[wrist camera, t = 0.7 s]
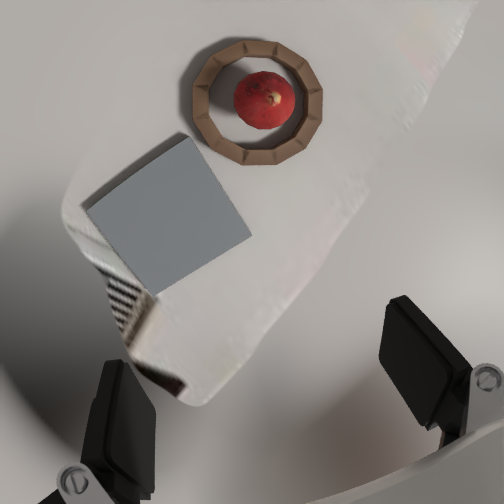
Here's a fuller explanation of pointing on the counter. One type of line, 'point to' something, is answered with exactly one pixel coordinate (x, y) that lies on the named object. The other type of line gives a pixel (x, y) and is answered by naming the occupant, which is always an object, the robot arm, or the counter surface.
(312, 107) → the ring holder
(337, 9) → the counter surface
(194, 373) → the counter surface
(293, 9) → the counter surface
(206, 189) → the board
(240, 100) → the onion
